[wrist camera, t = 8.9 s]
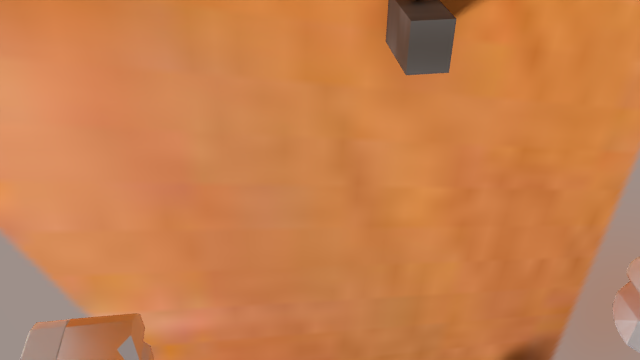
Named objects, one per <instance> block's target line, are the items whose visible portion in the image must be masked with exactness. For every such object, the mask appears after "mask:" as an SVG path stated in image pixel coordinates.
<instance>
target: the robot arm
mask: <svg viewBox="0 0 640 360" xmlns="http://www.w3.org/2000/svg"><path fill="white" fill-rule="evenodd" d="M626 274H627V276H628V278H629V280H630V281H629V282H628V283H627V284H626V285H625V286H623V287H622V288H621V289H620V290H618V292H617V294H616V297H615V300H614V302H613V316H614V322H615V324H616V327H617V329H618V332H619V334H620V335H621V337H622V338H623V340H624V341H625V343H626V344H627V345H628V346H629V347H631V348H633V349H635V350H636V351H638V352H639V353H640V257H637V258H636V259H635V260H633V261H632V262H631V263H630V265H629V267H628V269H627V271H626ZM144 331H145V326H144V324H143V321H142V318H141V315H140V314H137V313H136V314H124V315H113V316H101V317H89V318H79V319H70V320H60V321H49V322H39V323H36V324H35V325H34V327H33V328H32V329H31V330H30V332H29V334H28V337H27V340H26V343H25V346H24V349H23V352H22V355H21V358H20V360H154V357H153V353H152V349H151V346H150V345H149V344H147V343H145V342H144V341H143V339H144Z"/></svg>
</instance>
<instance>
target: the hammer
mask: <svg viewBox="0 0 640 360" xmlns="http://www.w3.org/2000/svg"><path fill="white" fill-rule="evenodd" d="M455 25H456V18H455V17H454V16H453V15H452V14H451V13H450V11H449V10H448V9H447V8H446V7H445V6H444V5H443V4H442V3H441V2H440V1H439V0H389V3H388V18H387V32H386V43H387V44H388V46H389V48H390V49H391V51H392V53H393V54H394V56H395V58H396V59H397V61H398V63H399V64H400V66H401V68H402V69H403V71H404V73H405V74H406V75H416V74H433V73H449V68H450V61H451V54H452V46H453V39H454V32H455Z"/></svg>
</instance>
